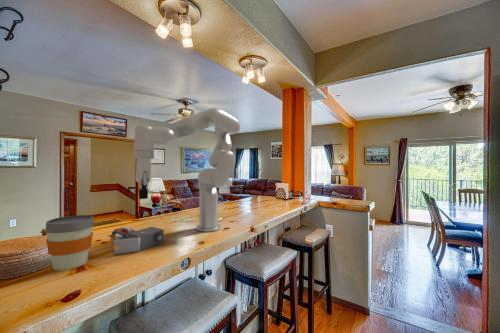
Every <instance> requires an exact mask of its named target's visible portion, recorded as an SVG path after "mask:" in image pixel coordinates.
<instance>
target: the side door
mask: <svg viewBox="0 0 500 333" xmlns="http://www.w3.org/2000/svg"><path fill="white" fill-rule="evenodd" d="M134 252H141V251H140V237H138V238H130V239H120V240H115V239H114V240H113V255H119V254H127V253H134Z"/></svg>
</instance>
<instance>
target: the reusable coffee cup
mask: <svg viewBox="0 0 500 333" xmlns="http://www.w3.org/2000/svg"><path fill="white" fill-rule="evenodd" d="M94 224H95V222H94V216H92V215H88V214H78V215H77V214H76V215H68V216H61V217H56V218H52V219H49V220H47V221H46V223H45V230H44V233H46V237H47V239H46V240H45V241H46V246H47V253H48V255H49V256H50V259H51V266H52V269H53V270H54V271H66V270H71V269H76V268H78V267H81V266H84V265H85V264H86V263H87V262H88V258H89V250H90V248H91V247H92V241H93V235H94V232H93V226H94Z"/></svg>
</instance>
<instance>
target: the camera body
mask: <svg viewBox="0 0 500 333" xmlns="http://www.w3.org/2000/svg"><path fill="white" fill-rule="evenodd" d="M164 231H165V230H164V228H159V227H155V226H154V227H153V226H149V227H146V228H141V229H139V230H135V231H134V232H131V233H128V239H130V238H138V237H140V251H139V252H141V251H143V250H146V249H149V248H151V247H154V246H157V245H160V244H162V243H164V242H165V241H164V236H165V235H164V234H165V233H164Z"/></svg>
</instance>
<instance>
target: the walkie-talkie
mask: <svg viewBox="0 0 500 333" xmlns="http://www.w3.org/2000/svg"><path fill="white" fill-rule="evenodd" d="M134 231H136V230H135V229H133V228H132V227H130V226H122V227H119V228H115V229H113V231H111V234H112V235H113V237H114V240H120V239H128V233H131V232H134Z"/></svg>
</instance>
